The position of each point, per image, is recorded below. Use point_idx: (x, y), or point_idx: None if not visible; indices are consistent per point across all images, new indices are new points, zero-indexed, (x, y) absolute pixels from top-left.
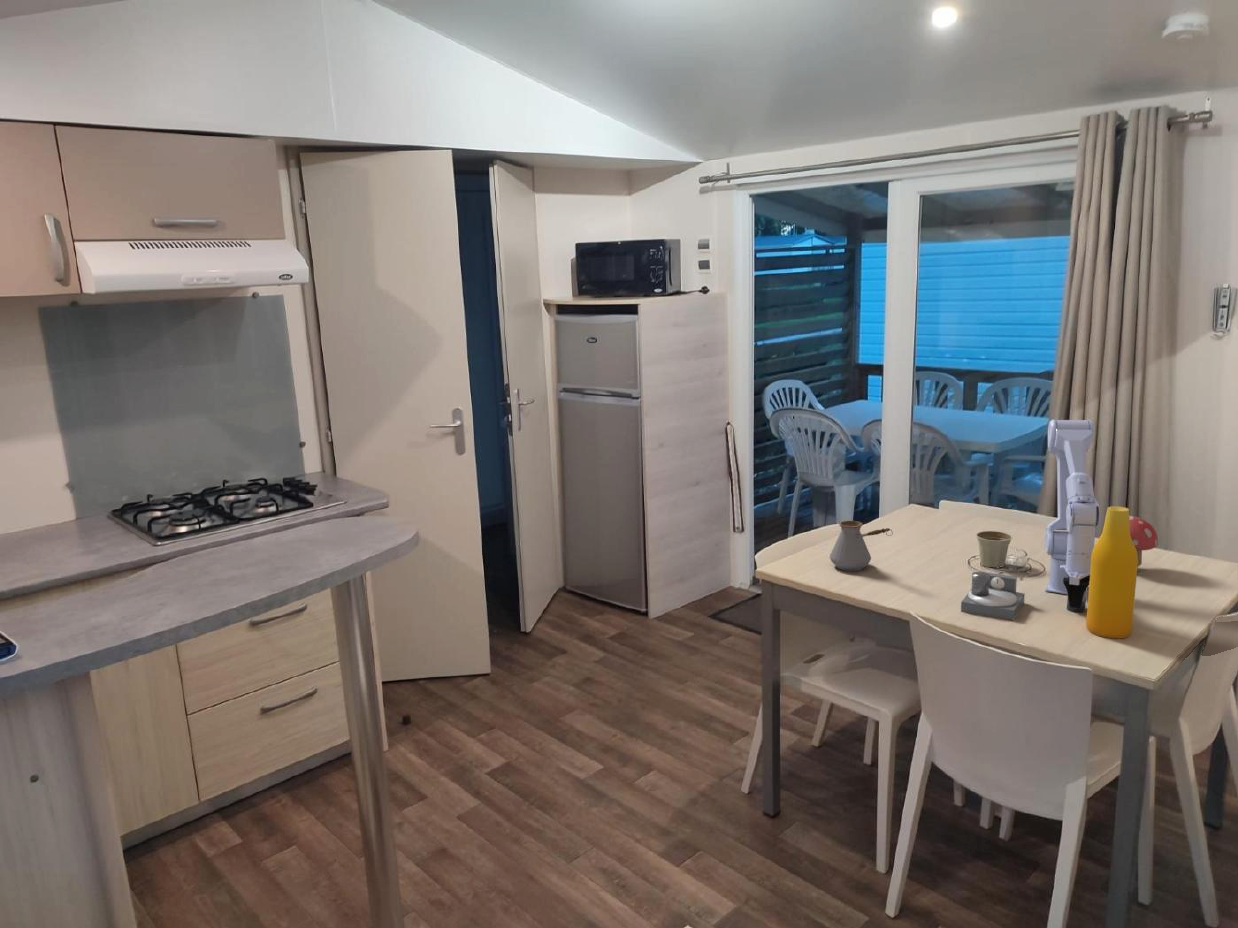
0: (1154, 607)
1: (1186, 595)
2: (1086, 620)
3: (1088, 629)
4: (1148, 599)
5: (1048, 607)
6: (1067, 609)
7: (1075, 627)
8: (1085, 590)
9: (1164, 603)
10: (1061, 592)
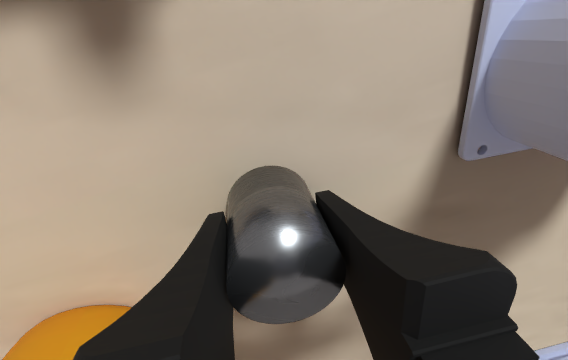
0: None
1: None
2: (28, 347)
3: (29, 330)
4: None
5: (208, 83)
6: (240, 177)
7: (27, 278)
8: (313, 310)
9: None
10: (475, 74)
